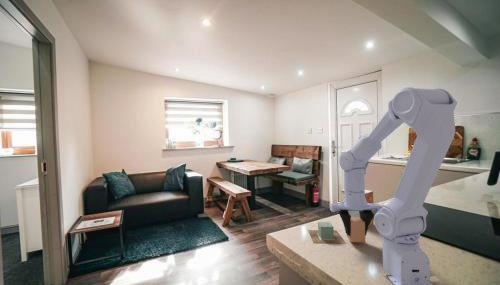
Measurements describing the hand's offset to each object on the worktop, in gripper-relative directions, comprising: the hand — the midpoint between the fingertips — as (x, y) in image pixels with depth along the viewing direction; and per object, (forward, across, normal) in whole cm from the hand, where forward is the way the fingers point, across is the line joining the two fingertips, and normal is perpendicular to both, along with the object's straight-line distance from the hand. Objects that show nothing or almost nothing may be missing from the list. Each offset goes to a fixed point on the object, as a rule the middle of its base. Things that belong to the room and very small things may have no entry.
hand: (355, 234), depth 66 cm
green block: (+2, +8, -4) cm, 9 cm away
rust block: (+2, 0, 0) cm, 2 cm away
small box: (+4, -8, -16) cm, 18 cm away
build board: (+3, +8, -4) cm, 10 cm away
